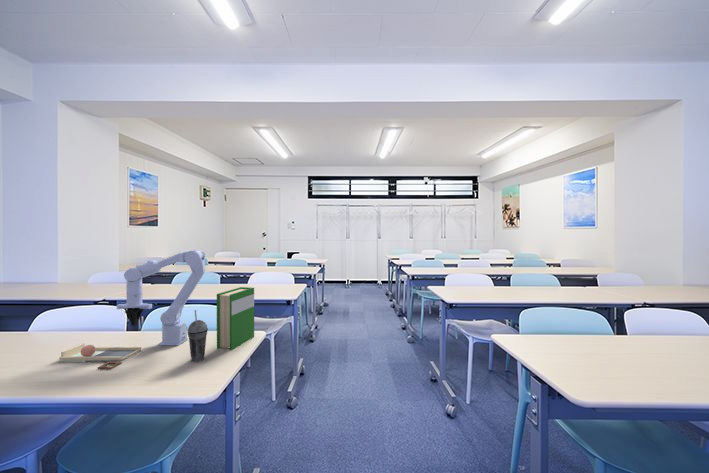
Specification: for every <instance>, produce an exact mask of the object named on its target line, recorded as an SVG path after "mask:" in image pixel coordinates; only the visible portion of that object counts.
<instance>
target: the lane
mask: <svg viewBox="0 0 709 473" xmlns="http://www.w3.org/2000/svg"><path fill="white" fill-rule="evenodd" d="M85 346H86V344H85V343H81V344H78V345H76V346H73V347H71V348H68V349H66V350H63V351H60V352H61V353H60V356H59V358H58V360H59V361H58V362H59V363H107V362H121V361H122V362H123V361H125V360H127V359H128V358H130V357H132V356H134V355H136V354H138V353H140V352H142V346H94V347H95V349H96V350H95V353H94V354H93V355H91V356H89V357H84V356H82V355H81V349H82V348H83V347H85Z"/></svg>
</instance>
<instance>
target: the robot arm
mask: <svg viewBox="0 0 709 473" xmlns="http://www.w3.org/2000/svg"><path fill="white" fill-rule="evenodd" d="M179 262H180V263H186V264H187V265H188V266H189V268H190V271H191V274H190V276H189V277H188V278H187V280H186V281H185V283H184V284H183V286H182V288H181V290H180V291H179V292H178V294H177V295H176V297H175V299H174V300H173V302H171V304H170V306H169V307H168V308H167V310H165V311H164V312H163V313H161V314H160V321H161V335H162V337H161V342H160V343H157V346H179V345H182V343H184V342H186V341H188V340H189V337H188V333H187V332H188V326H187V324H186V323H183V322H181V319H180V318H181V316H182V313H183V309H184V307H185V304H186V303H187V301H188V300H189V298H190V297H191V295H192V294H193V292H194V290H195V289H196V287H197V285H198V284H199V282H200V281H201V279H202V278H203V276H204V274H205V273H206V268H205V267H206V266H205V264H206V257H205V255H204V253H203V252H202V251H201V250H199V249H193V250H189V251H185V252H180V253H177V254H174V255H172V256H170V257H167V258H164V259H162V260H160V261H158V260H152V259H151V260H148V261H147V262H146V263H142V264H136V265H135V267H130V268H128V269H127V270H126V271H125V272H124V274H123V277H124V279H125V281H126V288H125V289H126V303H119V304H116V310H124V313H125V315H127V317H128V319H129V321H130V326H136V325H138V324H139V320H140V318H141V315H142V314H143V312H144V310H151V309H153V304H152V303H146V302H145V303H144V302H143V278H146V277H149V276H152V275H154V274H156V273H160V272H161V269H162V268H165V267H167V266H170V265H173V264H177V263H179Z"/></svg>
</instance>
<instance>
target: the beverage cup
mask: <svg viewBox="0 0 709 473" xmlns="http://www.w3.org/2000/svg"><path fill="white" fill-rule="evenodd" d="M194 317H195V320H194V321H192V322H191V323H190V324H189V326H188V327H187V338H188V341H189V353H190V359H191V360H190V361H191V362H193V363H197V362H202V361H203V360H204V359H205V355H206V354H205V353H206V346H207V335H208V330H209V329H208V325H207V323H206V322H205V321H203V320H201V319H198V316H197V310H196V309H195V310H194Z"/></svg>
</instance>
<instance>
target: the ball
mask: <svg viewBox="0 0 709 473" xmlns="http://www.w3.org/2000/svg"><path fill="white" fill-rule="evenodd" d="M95 347H96V346H94V345H92V344H88V345H87V344H86V345H85V347H83V348H82V349H81V355H82V356H84V357H89V356H91V355H93V354H94V353H95V350H96V349H95Z"/></svg>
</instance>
